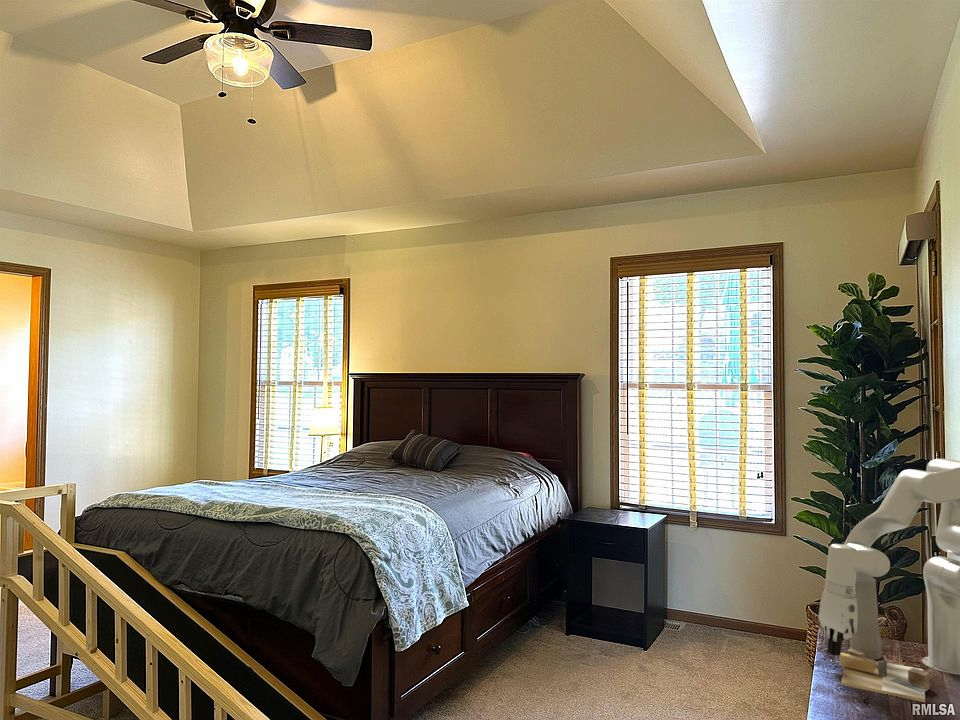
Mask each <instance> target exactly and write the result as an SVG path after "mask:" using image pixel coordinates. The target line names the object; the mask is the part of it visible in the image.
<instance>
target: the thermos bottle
mask: <svg viewBox="0 0 960 720" xmlns="http://www.w3.org/2000/svg"><path fill="white" fill-rule="evenodd" d="M876 583H877V582H876V579H875V578H874V576H869V575H865V574H860V573H857V574H856V583H855V591H856V595H854V598H856V600H857V609H858V624H857V632H856V633H855V634H853V633H852V639H849V645H850V647H849V649H854V650H857V651H860V652H863V653H865V658H867V659H872V660H875V661H876V660H880V659H882V647H881V634H880V623H879V610H878V608H879V607H878V597H877V596H878V594H877V584H876Z"/></svg>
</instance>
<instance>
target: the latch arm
mask: <svg viewBox="0 0 960 720" xmlns="http://www.w3.org/2000/svg"><path fill="white" fill-rule="evenodd" d="M838 657H839V659H838V660H839V664H838V666H839V667H843V668H844V667H847V668H852V669H857V670H861V671H866V672H870V673H874V672H875V661H876V659H875V660H872V659H867V658H862V657H858V656H853V655H850V654H846V653H844V652H840V655H838Z"/></svg>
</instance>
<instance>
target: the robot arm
mask: <svg viewBox="0 0 960 720" xmlns="http://www.w3.org/2000/svg"><path fill="white" fill-rule="evenodd" d="M923 502H925V503H931V504H941V505H940V511H939V512H940V513H939V519H938V523H937V528H936V534H935V543H936V545H937V547H938V548H939V549H941V550H942V551H944V552H946V553H949V554H951V555H954V556H956V557H960V460H956V459H955V460H954V459H949V458H935V459H932V460H929V462H928V463H927V464H926V469H925V470H921V469H913V468H909V469H908V468H907V469H904V470H902V471H901V472H900V473H899V474H898V475H897V476H896V478H895V480H894V482H893V483H892V485H891V487H890V488H889V490H888V492H887V494H886V495H885V497H884V499H883V500H882V502H881V504H880V505H879V507H878V508H877V509H876V511H874V512H873V513H871V514H870V515H868V516H866V517H865V518H863V519H862V520H861V521H860V522H858V523H857V524H856V525H855V526H854V527H853V528H852V529H851V530H850V533H848V535H847V537H846V539H845V541H844V542H843V544H842V543H841V544H840V543H832V544H830V545H829V547H828V552H827V553H828V554H827V562H826V573H825V582H824V583H825V584H824V589H823V590H822V591H823V592H822V594H821V597H820V604H819V609H818V610H819V611H818V620H819V623H820V624H819V625H820V627H821V628H822V629H823V630H825V633H826V638H827V648H826V649H827V650H826V653H827V654H829V655H830V656H839V655H840V653H842V651H841V650H842V642H844V641H845V640H850V639H852V633H853V634H855V633H856V632H857V624H858V609H857V600H856V598H854V595H856V591H855V583H856V574H857V573H860V574H865V575H869V576H873V578H874V577H878V578H879V577H883V576H884V575H886V574H887V573H888V572H889V570H890V568H891V561H890V559H889V558H888V556H887V555H886V554H885V553H884V552H882V551H880V550H878V549H876V548H873V547H871V546H872V545H873V544H874V543H875V541H877V540H878V538H880V537H881V536H883V535H886V534H889V533H891V532H897V531H899V530H905V529H906V528H907V527H909V525H910V524H911V522H912V521H913V519H914V517H915V515H916V513H917V512H918V511H919V509H920V507H921V505H922V504H923ZM922 574H923V581H924V585H925V590H926V599H927V653H928V655H927V656H925V657H923V658H921V661H922V664H924V665H925V666H927V667H928V668H930V669H932V670H935V671H939V672H941V673H944V674H945V673H946V674H951V675H957V676H958V675H960V560H956V559H953V558H950V557H947V556H942V555H941V556H940V555H938V556H933V557H931V558H929V559H927V560H926V561H925V563H924V565H923V570H922Z"/></svg>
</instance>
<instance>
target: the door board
mask: <svg viewBox="0 0 960 720" xmlns="http://www.w3.org/2000/svg"><path fill="white" fill-rule="evenodd" d="M845 654H850V655H853V656H858V657H862V658H865V653H863V652H860V651H857V650H854V649H851V648H848V649H846V653H845ZM840 681H841V682H840V686H845V687H850V688H853V689H859V690H863V691H867V692H868V691H869V692H872V693H877V694H882V695H883V694H884V695H887V694H888V695H887V696H891V695H892V696H891V697H896V696H897V697H896V698H901V699H907V700H912V701H916V702H921V703H926V694H925V693H926V692H927V691H928V690H930V685H931V684H930V681H931V680H930V672H928V671H925V670H924V669H923V668H917V667H912V666H906V665H902V664H895V663H890V662H887V661H886V660H883V659H881V660H880V659H878V660H875V672H874V673H870V672H866V671H861V670H857V669H852V668H847V667H843V670H842V675H841V680H840Z"/></svg>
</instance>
